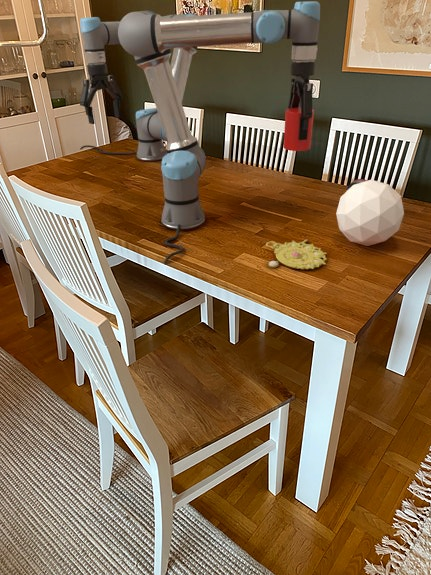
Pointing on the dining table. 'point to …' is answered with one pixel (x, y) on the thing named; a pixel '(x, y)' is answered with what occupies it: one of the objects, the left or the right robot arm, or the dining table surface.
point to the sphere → (369, 212)
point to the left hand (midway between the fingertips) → (105, 120)
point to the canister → (296, 131)
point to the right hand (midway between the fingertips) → (297, 135)
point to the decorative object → (297, 255)
